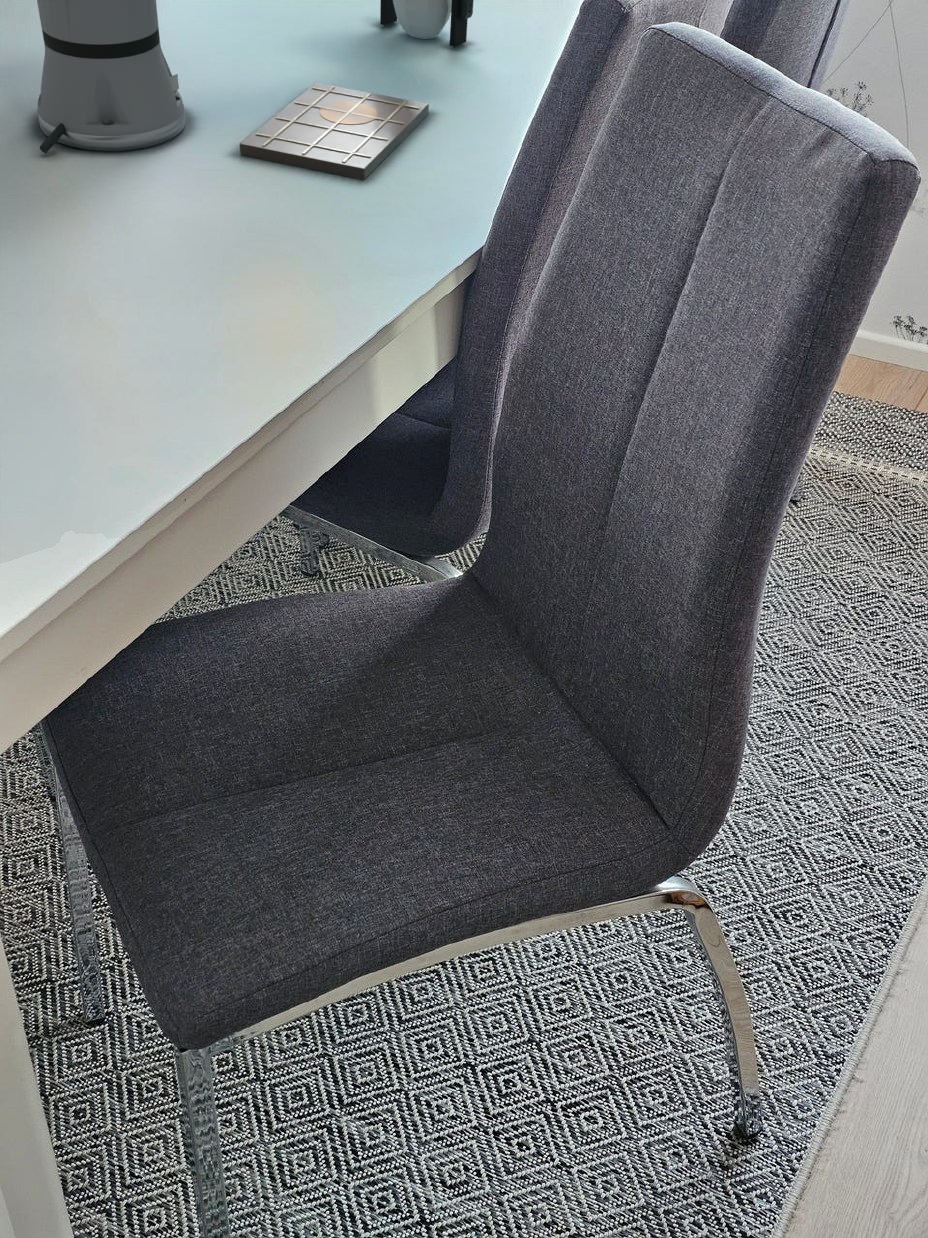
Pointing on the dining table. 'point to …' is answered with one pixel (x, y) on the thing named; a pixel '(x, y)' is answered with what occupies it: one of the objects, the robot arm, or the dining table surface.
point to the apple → (423, 16)
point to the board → (335, 130)
